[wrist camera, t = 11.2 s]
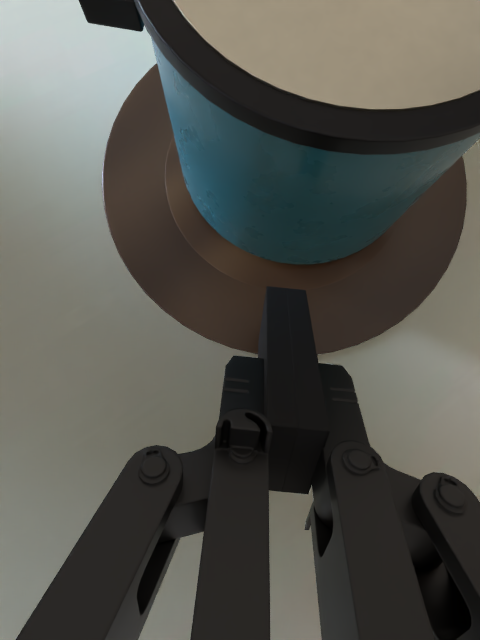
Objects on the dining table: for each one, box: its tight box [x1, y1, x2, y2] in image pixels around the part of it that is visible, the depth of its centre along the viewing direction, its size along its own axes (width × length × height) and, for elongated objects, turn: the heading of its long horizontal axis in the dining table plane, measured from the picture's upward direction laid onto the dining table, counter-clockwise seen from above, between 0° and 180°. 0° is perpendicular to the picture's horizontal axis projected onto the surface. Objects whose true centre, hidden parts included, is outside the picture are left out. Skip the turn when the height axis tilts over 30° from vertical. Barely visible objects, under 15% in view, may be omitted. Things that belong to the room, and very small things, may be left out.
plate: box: [102, 64, 466, 354], centre depth 20 cm, size 19×19×1 cm
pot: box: [79, 0, 480, 264], centre depth 15 cm, size 12×16×10 cm
